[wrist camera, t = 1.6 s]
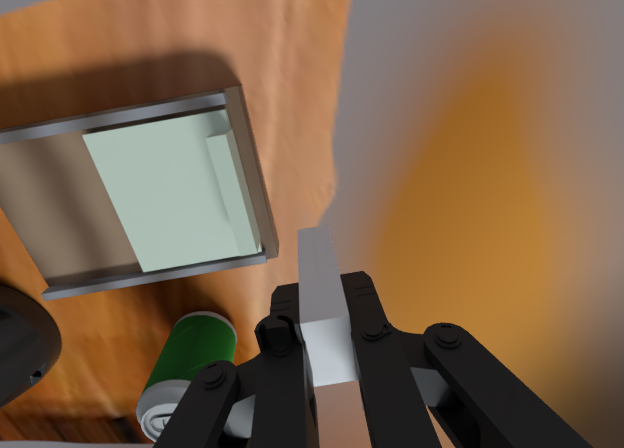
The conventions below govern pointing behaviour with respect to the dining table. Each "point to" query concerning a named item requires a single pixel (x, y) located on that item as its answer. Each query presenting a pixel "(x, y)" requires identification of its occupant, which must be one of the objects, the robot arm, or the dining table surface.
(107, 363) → the dining table surface
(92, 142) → the lid
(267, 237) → the wooden tray box
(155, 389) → the soda can
